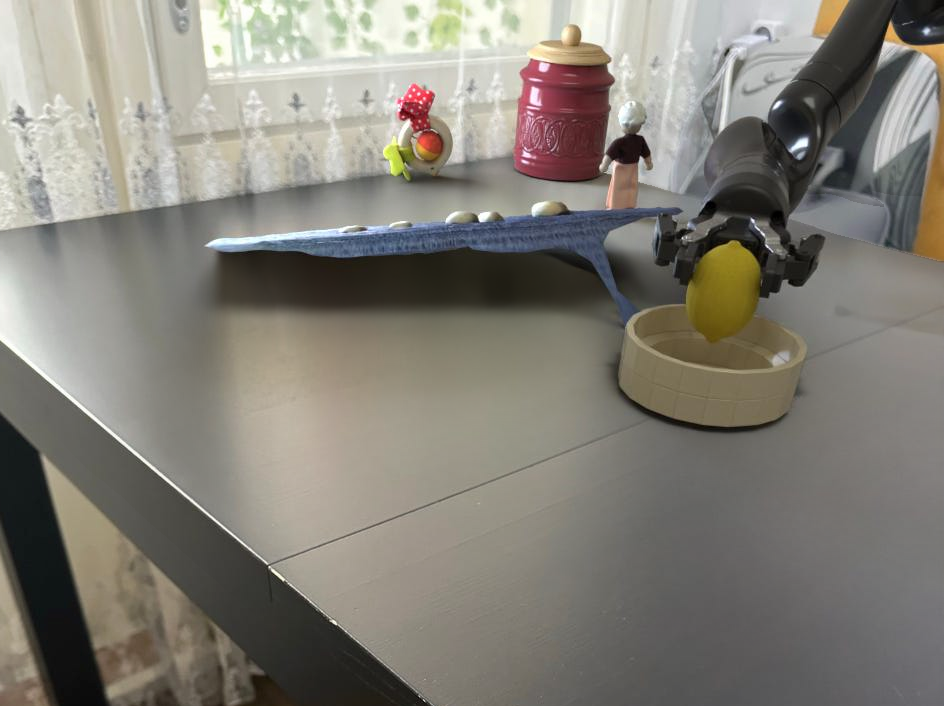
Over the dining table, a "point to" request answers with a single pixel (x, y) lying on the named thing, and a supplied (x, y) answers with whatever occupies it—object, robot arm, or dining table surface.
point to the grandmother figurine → (627, 158)
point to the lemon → (723, 291)
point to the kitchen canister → (563, 109)
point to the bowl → (710, 369)
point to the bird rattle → (419, 136)
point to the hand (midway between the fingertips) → (725, 278)
